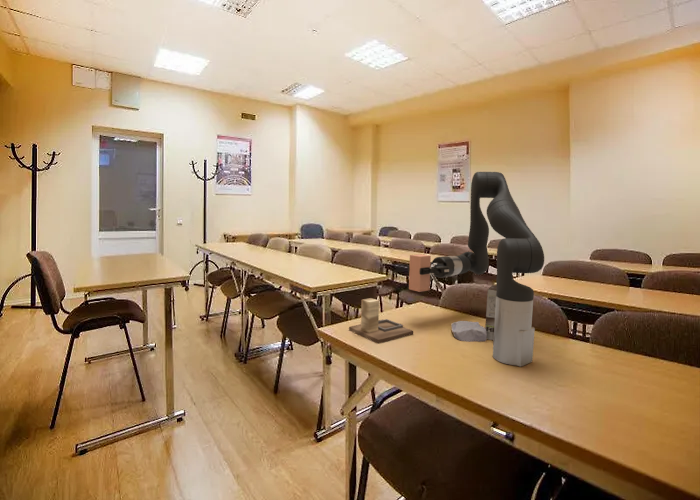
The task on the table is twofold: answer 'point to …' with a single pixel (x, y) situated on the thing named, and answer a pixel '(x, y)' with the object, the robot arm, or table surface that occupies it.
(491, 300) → the coffee box
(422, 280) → the terracotta pillar
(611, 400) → the table surface
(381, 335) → the brown board
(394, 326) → the slot frame
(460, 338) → the stone block
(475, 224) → the robot arm
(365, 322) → the birch column
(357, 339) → the table surface
